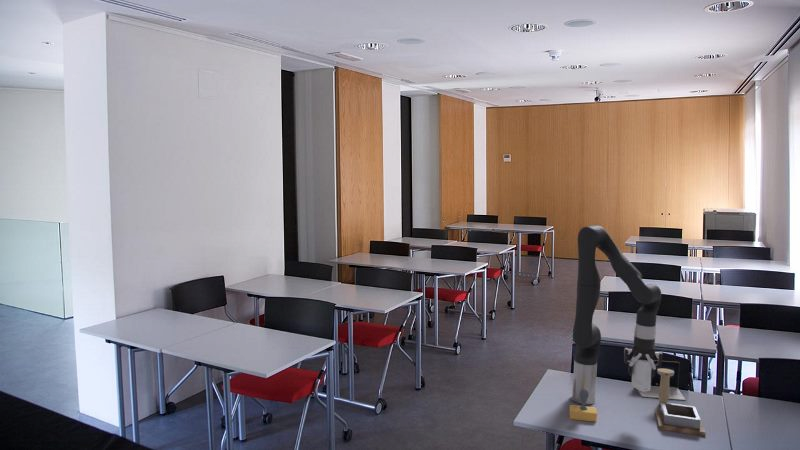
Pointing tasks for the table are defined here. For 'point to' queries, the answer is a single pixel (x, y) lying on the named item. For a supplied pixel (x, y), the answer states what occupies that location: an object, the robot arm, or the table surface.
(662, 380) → the handle
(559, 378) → the table surface
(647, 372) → the skincare box
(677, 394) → the laptop
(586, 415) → the rubber stamp
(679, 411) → the socket board
